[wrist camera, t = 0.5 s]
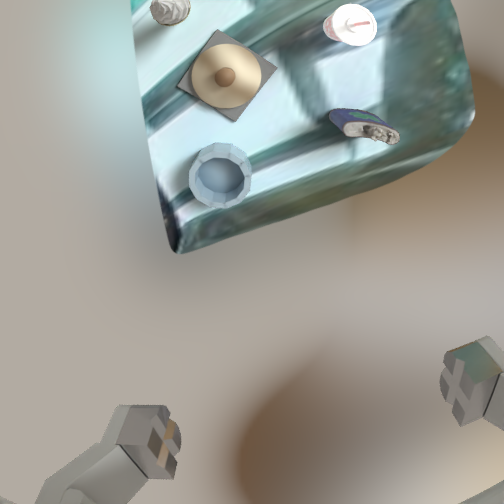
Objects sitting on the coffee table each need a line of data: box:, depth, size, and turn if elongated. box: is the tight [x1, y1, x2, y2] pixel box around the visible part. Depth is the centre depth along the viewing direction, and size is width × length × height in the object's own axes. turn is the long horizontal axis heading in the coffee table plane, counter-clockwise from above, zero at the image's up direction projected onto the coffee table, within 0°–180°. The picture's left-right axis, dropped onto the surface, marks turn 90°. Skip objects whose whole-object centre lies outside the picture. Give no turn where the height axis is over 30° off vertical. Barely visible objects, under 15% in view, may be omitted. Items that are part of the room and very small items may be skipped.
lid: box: [192, 44, 261, 108], centre depth 41 cm, size 10×10×4 cm
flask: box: [329, 108, 400, 145], centre depth 43 cm, size 9×3×11 cm, turn 86°
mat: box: [178, 29, 277, 122], centre depth 43 cm, size 11×11×1 cm
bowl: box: [189, 143, 252, 208], centre depth 51 cm, size 10×10×4 cm
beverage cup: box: [323, 4, 377, 46], centre depth 33 cm, size 6×6×14 cm
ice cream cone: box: [150, 0, 191, 26], centre depth 31 cm, size 5×5×15 cm
